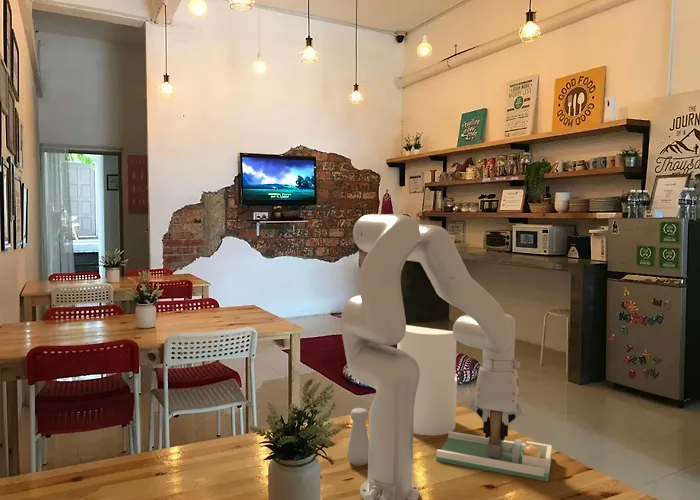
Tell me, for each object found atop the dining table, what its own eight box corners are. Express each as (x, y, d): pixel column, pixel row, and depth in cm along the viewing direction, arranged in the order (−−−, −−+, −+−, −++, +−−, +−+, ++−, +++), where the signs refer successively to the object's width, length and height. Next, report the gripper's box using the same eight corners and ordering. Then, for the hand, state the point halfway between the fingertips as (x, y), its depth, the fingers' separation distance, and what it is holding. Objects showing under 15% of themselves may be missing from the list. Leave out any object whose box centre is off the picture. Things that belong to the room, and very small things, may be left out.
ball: (519, 449, 136) (524, 466, 136) (536, 447, 134) (541, 464, 134) (521, 443, 139) (526, 459, 139) (538, 441, 138) (542, 457, 138)
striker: (518, 463, 135) (520, 418, 134) (486, 457, 138) (488, 413, 137) (521, 453, 141) (522, 410, 140) (490, 448, 144) (491, 406, 143)
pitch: (548, 481, 129) (548, 464, 129) (436, 460, 139) (436, 444, 139) (551, 457, 142) (552, 442, 141) (449, 440, 152) (449, 425, 151)
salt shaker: (368, 468, 134) (369, 414, 133) (344, 466, 135) (345, 412, 134) (372, 458, 139) (373, 406, 139) (349, 456, 140) (350, 404, 140)
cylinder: (441, 440, 152) (444, 337, 150) (384, 426, 161) (387, 329, 159) (464, 421, 166) (467, 326, 165) (411, 409, 175) (413, 320, 174)
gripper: (534, 364, 139) (531, 437, 140) (467, 357, 145) (465, 427, 147) (531, 372, 132) (528, 449, 133) (461, 363, 138) (459, 437, 140)
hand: (495, 436), depth 140 cm, fingers closed on striker, 3 cm apart
